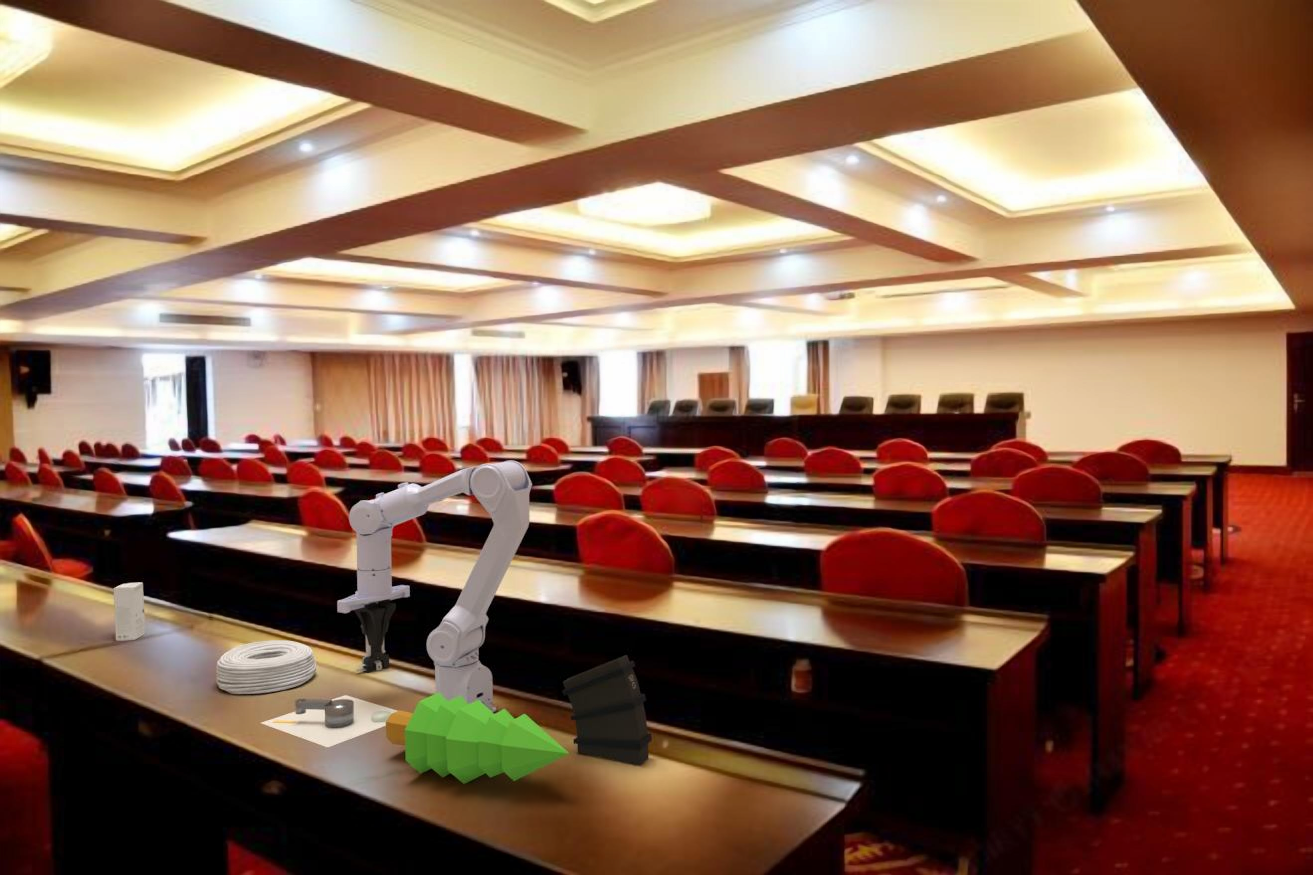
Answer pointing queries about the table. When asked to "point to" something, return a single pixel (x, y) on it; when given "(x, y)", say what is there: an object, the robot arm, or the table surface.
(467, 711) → the decorative tree
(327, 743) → the white paper sheet
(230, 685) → the cable
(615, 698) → the magazine
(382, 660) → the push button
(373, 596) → the robot arm
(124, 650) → the table surface
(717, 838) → the table surface
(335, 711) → the grey crank handle
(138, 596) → the skincare box
